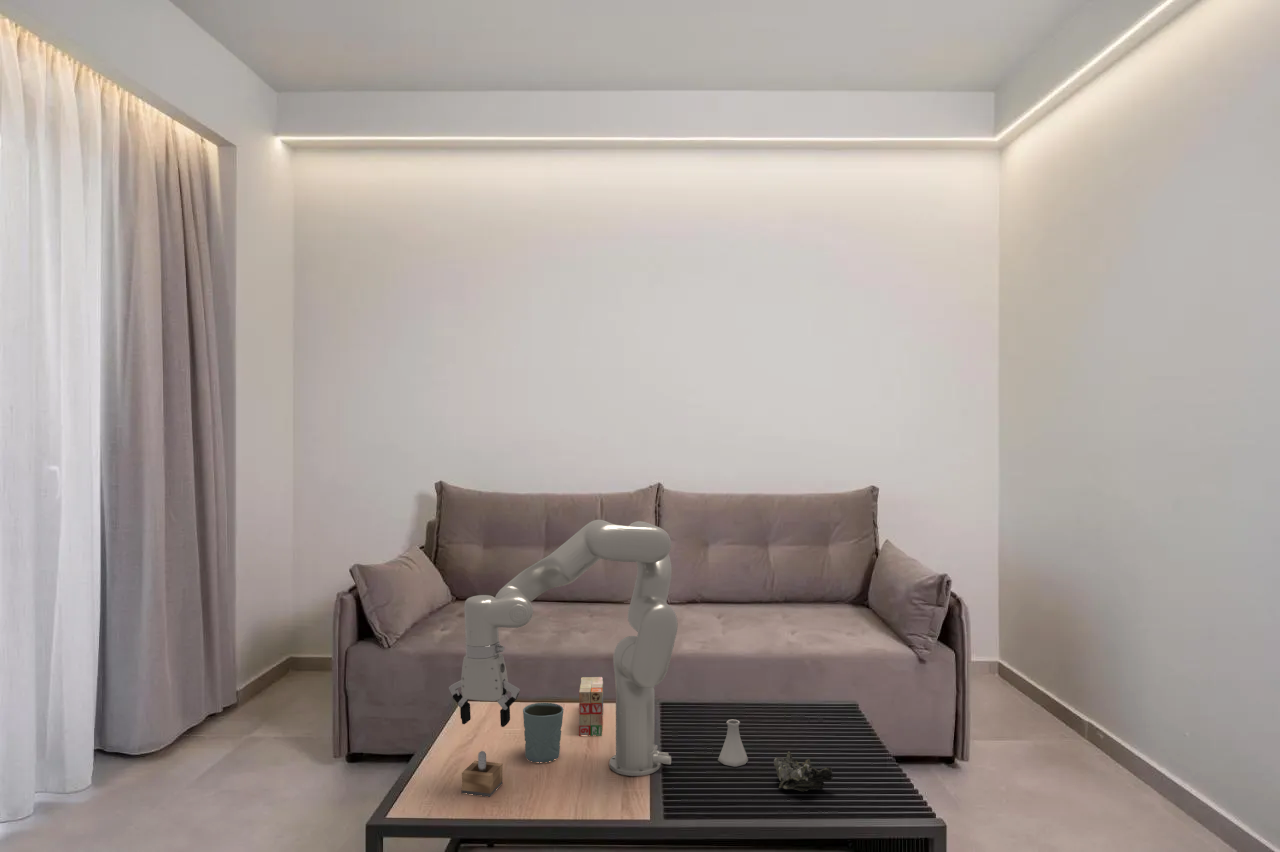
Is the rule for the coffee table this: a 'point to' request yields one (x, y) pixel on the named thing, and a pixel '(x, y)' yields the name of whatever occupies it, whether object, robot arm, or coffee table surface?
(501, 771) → the square wooden ring
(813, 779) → the mineral specimen
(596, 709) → the stack of blocks
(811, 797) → the coffee table surface
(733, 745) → the flask
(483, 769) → the peg stand
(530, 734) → the teal cup
